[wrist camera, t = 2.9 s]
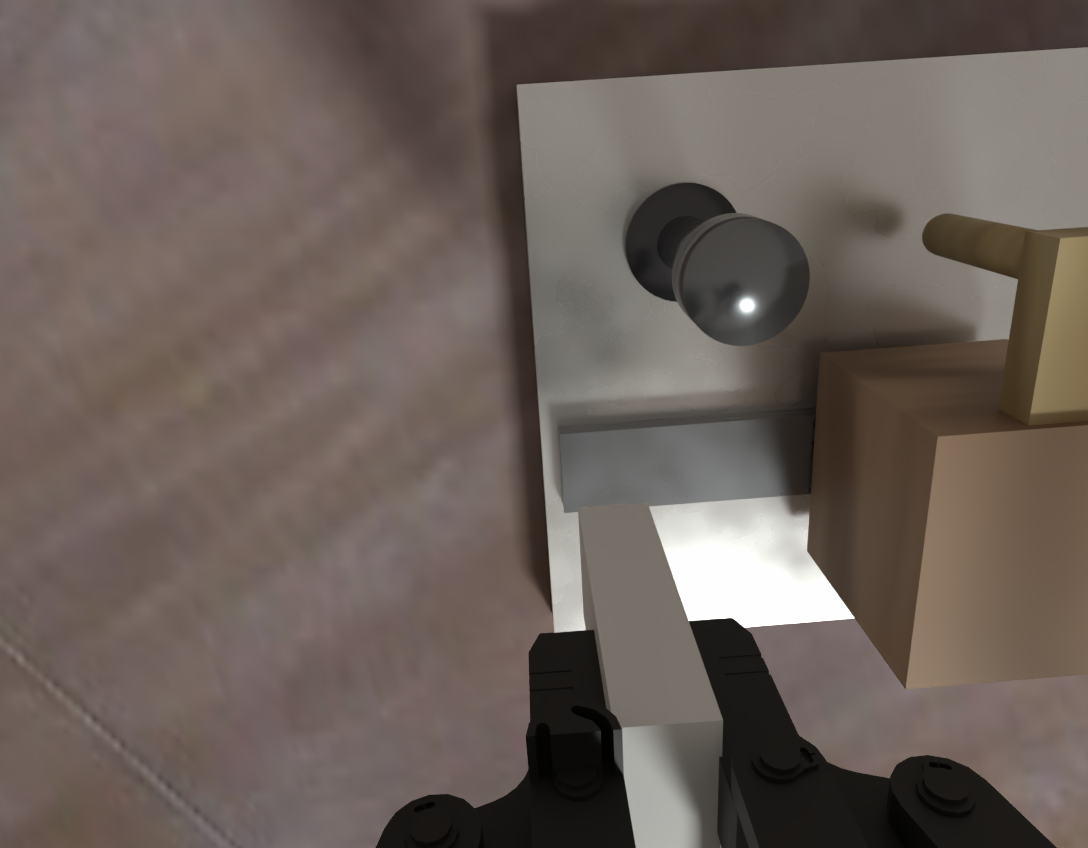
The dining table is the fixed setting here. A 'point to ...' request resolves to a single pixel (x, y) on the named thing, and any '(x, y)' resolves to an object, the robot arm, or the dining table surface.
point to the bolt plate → (844, 223)
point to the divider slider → (966, 476)
